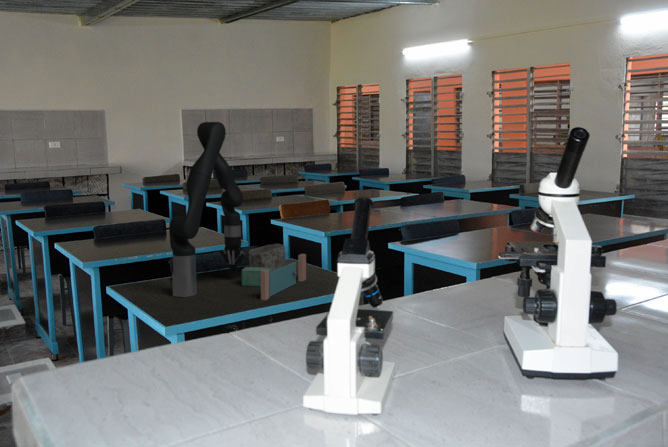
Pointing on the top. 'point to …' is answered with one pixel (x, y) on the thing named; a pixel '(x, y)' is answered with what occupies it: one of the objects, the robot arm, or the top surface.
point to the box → (253, 275)
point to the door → (282, 278)
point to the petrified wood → (268, 256)
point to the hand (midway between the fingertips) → (233, 272)
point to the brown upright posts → (266, 276)
